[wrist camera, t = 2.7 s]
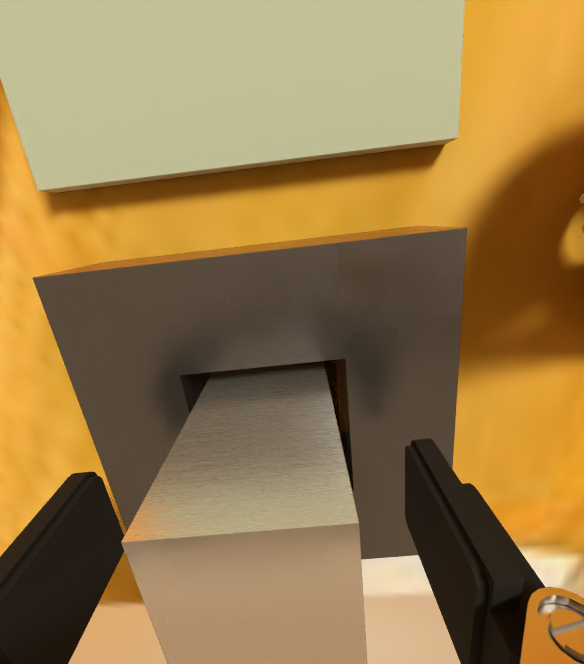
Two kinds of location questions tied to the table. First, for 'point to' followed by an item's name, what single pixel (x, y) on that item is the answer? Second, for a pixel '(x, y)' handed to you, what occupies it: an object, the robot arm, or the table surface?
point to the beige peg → (254, 528)
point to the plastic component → (583, 200)
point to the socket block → (271, 350)
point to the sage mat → (224, 83)
